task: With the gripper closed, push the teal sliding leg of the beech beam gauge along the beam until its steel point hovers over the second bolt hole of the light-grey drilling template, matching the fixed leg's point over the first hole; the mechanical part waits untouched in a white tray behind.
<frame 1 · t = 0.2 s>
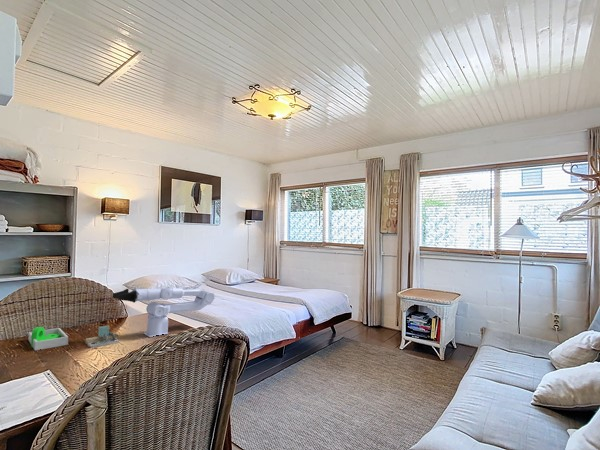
hand: (115, 296, 152), 21 cm above the table, tool horizontal, fingers open, 7 cm apart
white tray: (47, 342, 147), on the table
beam: (101, 340, 152), on the table
template plate: (103, 343, 148), on the table
sliding leg: (104, 333, 152), point 4 cm above the table, slide at 0.0 cm
mechanical part: (47, 343, 147), resting in white tray
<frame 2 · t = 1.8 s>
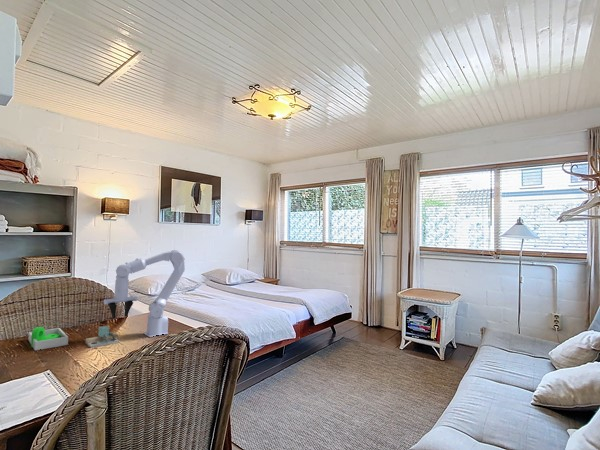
hand: (119, 317, 158), 10 cm above the table, tool pointing down, fingers open, 5 cm apart
nothing on the table moved.
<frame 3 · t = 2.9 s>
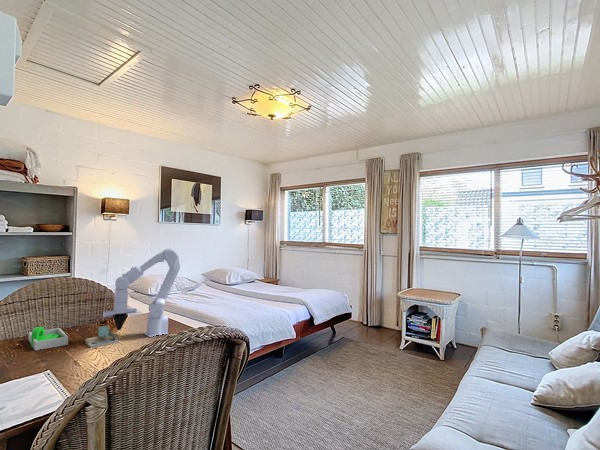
hand: (119, 329, 158), 4 cm above the table, tool pointing down, fingers closed
nothing on the table moved.
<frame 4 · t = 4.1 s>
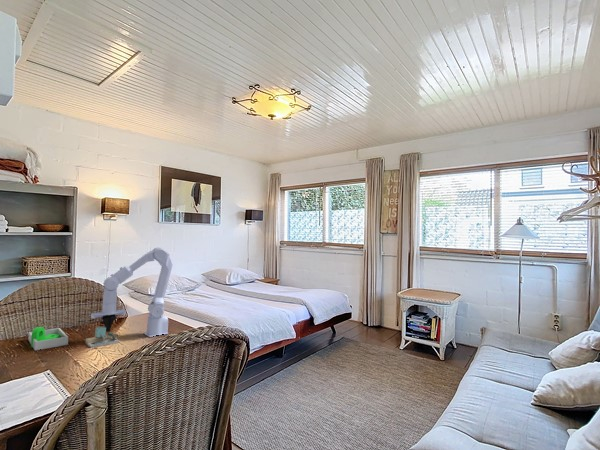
hand: (107, 331, 154), 4 cm above the table, tool pointing down, fingers closed
sliding leg: (101, 333, 151), point 4 cm above the table, slide at 1.3 cm, touching gripper
everything else where it was.
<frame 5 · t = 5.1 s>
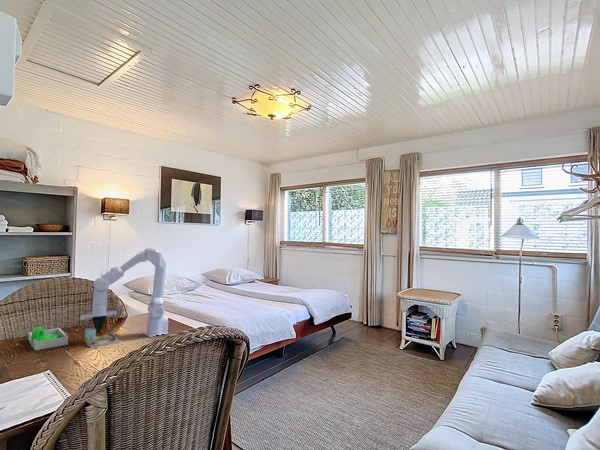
hand: (97, 332, 151), 4 cm above the table, tool pointing down, fingers closed
sliding leg: (91, 335, 148), point 4 cm above the table, slide at 5.4 cm, touching gripper
everything else where it was.
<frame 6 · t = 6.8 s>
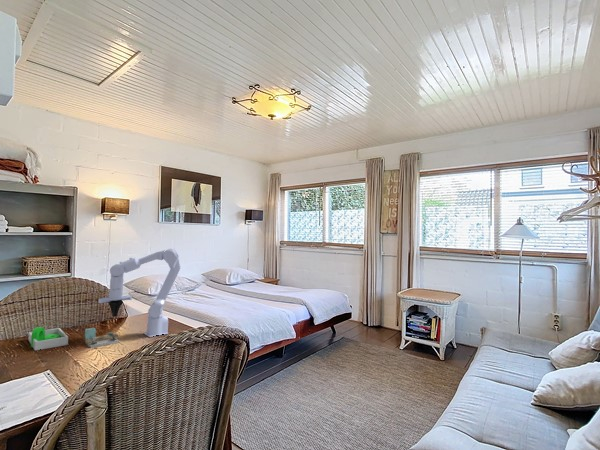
hand: (114, 315, 160), 10 cm above the table, tool pointing down, fingers closed
sliding leg: (91, 335, 148), point 4 cm above the table, slide at 5.4 cm
everything else where it was.
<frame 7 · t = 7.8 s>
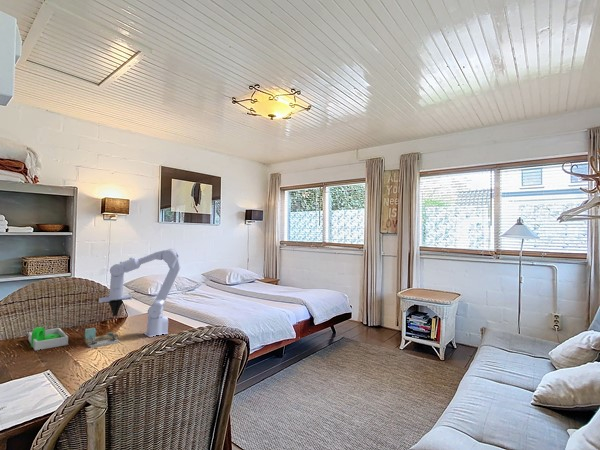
hand: (114, 315, 161), 10 cm above the table, tool pointing down, fingers closed
nothing on the table moved.
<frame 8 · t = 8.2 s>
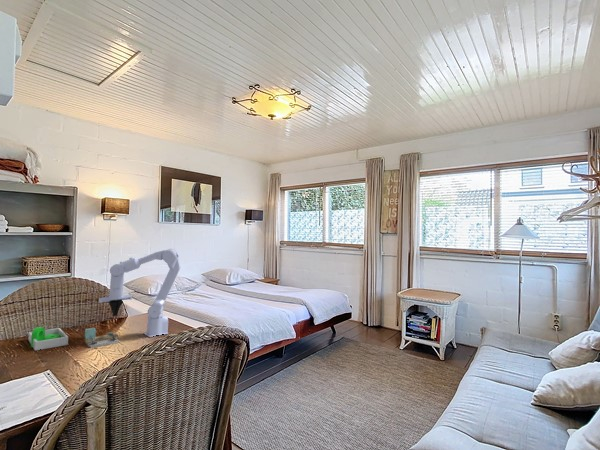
hand: (114, 315, 161), 10 cm above the table, tool pointing down, fingers closed
nothing on the table moved.
at the end: sliding leg slide at 5.4 cm; sliding leg moved 5.4 cm from its start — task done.
